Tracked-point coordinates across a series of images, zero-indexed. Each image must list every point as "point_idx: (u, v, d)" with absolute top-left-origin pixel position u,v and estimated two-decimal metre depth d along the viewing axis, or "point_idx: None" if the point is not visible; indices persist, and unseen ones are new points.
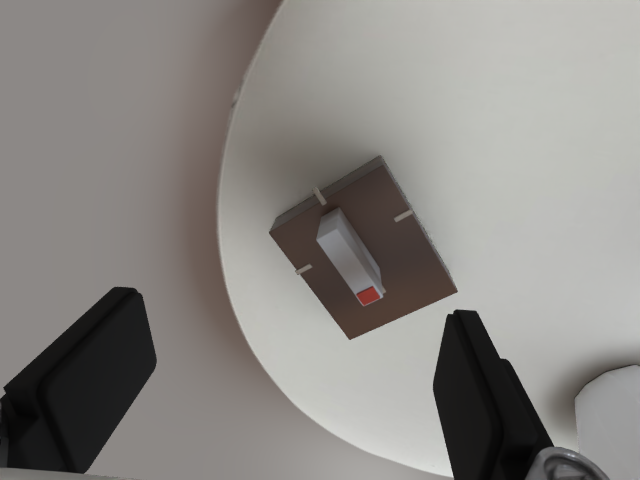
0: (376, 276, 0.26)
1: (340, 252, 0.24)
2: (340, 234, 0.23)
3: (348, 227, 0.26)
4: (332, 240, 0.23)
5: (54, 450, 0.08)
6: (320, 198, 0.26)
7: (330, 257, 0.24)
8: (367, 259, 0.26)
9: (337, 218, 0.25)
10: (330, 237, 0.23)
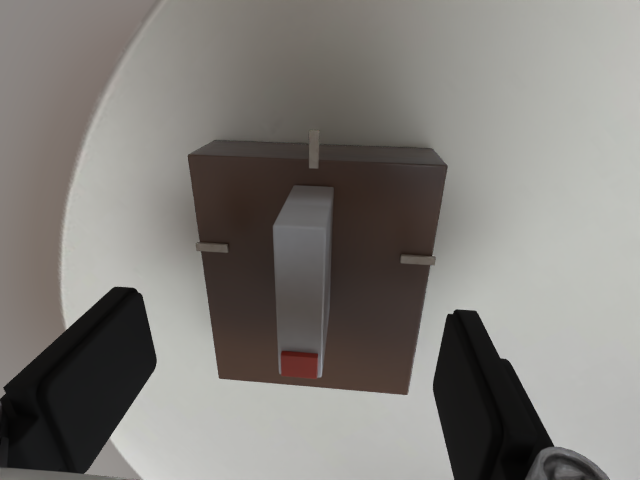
0: (325, 332, 0.14)
1: (302, 272, 0.11)
2: (324, 242, 0.11)
3: (331, 230, 0.14)
4: (302, 244, 0.11)
5: (53, 451, 0.08)
6: (313, 154, 0.14)
7: (278, 270, 0.11)
8: (327, 297, 0.14)
9: (328, 207, 0.12)
10: (302, 236, 0.11)
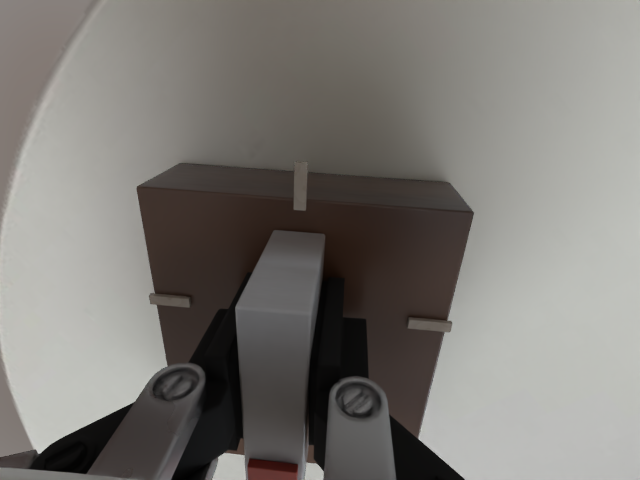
0: None
1: (276, 367, 0.08)
2: (308, 331, 0.08)
3: None
4: (277, 332, 0.08)
5: (232, 414, 0.09)
6: (299, 192, 0.10)
7: (243, 364, 0.08)
8: None
9: (317, 271, 0.09)
10: (277, 323, 0.08)
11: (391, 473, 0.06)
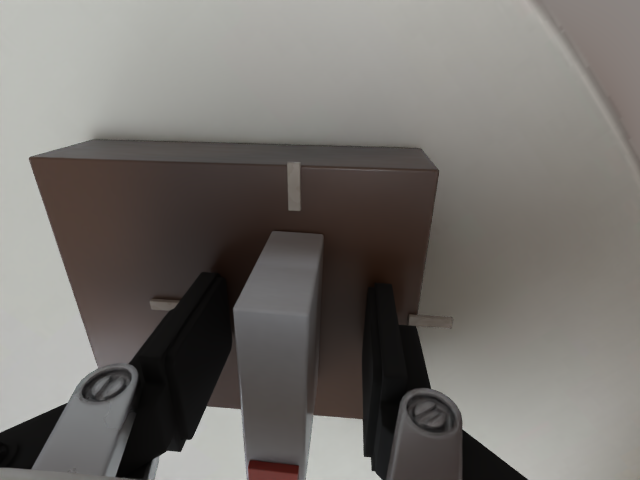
0: (311, 422, 0.11)
1: (275, 368, 0.08)
2: (306, 332, 0.08)
3: (319, 293, 0.10)
4: (276, 333, 0.08)
5: (172, 415, 0.09)
6: (425, 322, 0.12)
7: (242, 365, 0.08)
8: (314, 376, 0.11)
9: (315, 271, 0.09)
10: (276, 324, 0.08)
11: None
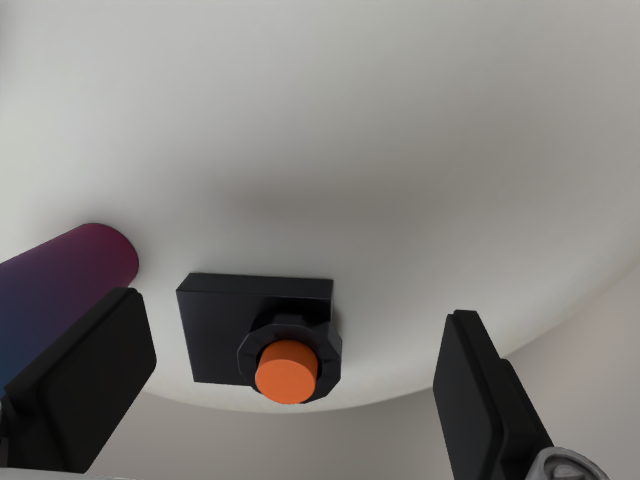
0: None
1: None
2: None
3: None
4: None
5: (54, 450, 0.08)
6: None
7: None
8: None
9: None
10: None
11: None
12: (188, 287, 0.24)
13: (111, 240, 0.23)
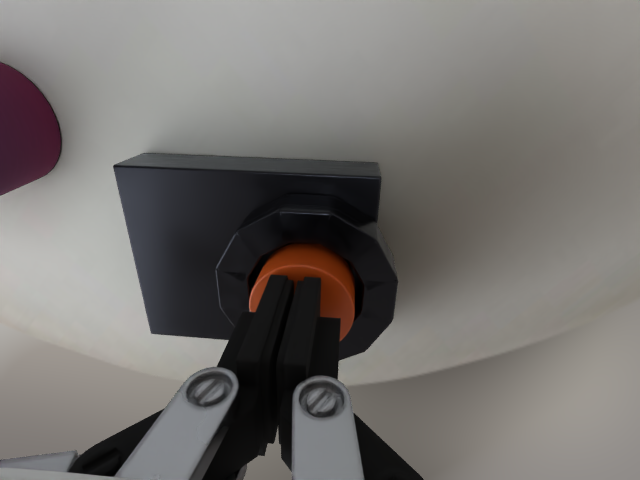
0: None
1: None
2: None
3: None
4: None
5: (261, 419, 0.09)
6: None
7: None
8: None
9: None
10: None
11: (358, 468, 0.06)
12: (136, 163, 0.14)
13: (4, 78, 0.14)
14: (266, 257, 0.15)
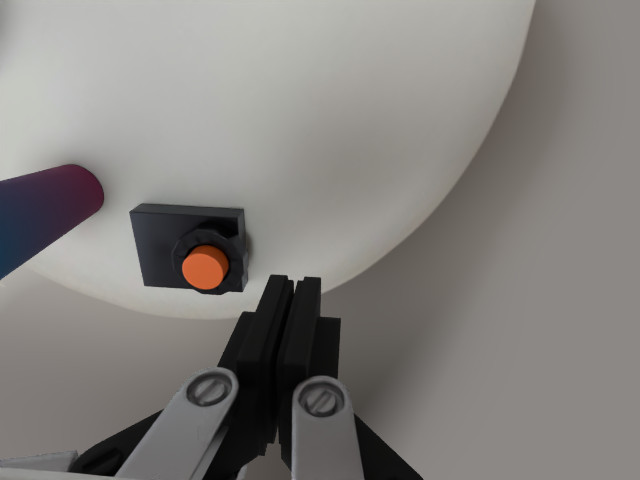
0: None
1: None
2: None
3: None
4: None
5: (261, 419, 0.09)
6: None
7: None
8: None
9: None
10: None
11: (358, 468, 0.06)
12: (138, 210, 0.33)
13: (83, 175, 0.33)
14: None
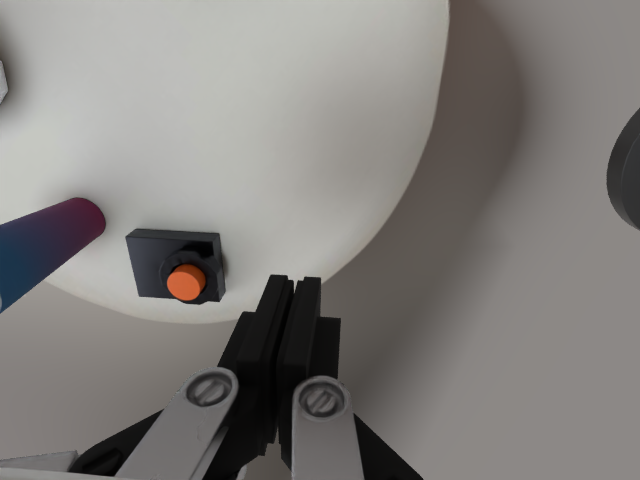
0: None
1: None
2: None
3: None
4: None
5: (262, 419, 0.09)
6: None
7: None
8: None
9: None
10: None
11: (358, 468, 0.06)
12: (133, 235, 0.41)
13: (88, 207, 0.41)
14: None
